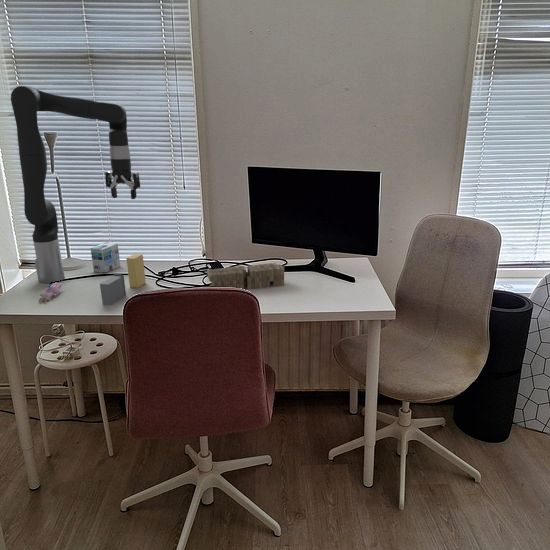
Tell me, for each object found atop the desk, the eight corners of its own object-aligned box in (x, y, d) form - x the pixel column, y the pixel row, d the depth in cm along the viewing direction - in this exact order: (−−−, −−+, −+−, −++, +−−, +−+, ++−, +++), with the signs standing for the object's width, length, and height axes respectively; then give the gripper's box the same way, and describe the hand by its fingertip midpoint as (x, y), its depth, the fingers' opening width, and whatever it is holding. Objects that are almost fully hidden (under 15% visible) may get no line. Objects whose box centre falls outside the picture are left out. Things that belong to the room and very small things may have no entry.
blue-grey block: (117, 295, 187) (114, 274, 185) (126, 295, 186) (123, 274, 184) (102, 304, 179) (99, 282, 176) (111, 305, 178) (108, 283, 175)
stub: (138, 282, 200) (134, 253, 196) (145, 282, 199) (142, 254, 195) (129, 287, 195) (126, 258, 191) (137, 287, 194) (134, 258, 190)
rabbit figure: (52, 306, 181) (69, 286, 194) (48, 293, 178) (65, 273, 192) (35, 306, 182) (53, 286, 195) (31, 292, 179) (50, 273, 192)
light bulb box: (105, 273, 212) (102, 249, 208) (93, 272, 214) (89, 248, 211) (121, 266, 221) (118, 242, 218) (108, 264, 224) (105, 241, 220)
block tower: (279, 282, 201) (207, 287, 194) (279, 262, 198) (206, 267, 191) (284, 288, 194) (210, 294, 186) (284, 268, 191) (209, 273, 184)
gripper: (98, 157, 193) (103, 199, 198) (131, 158, 189) (134, 200, 194) (110, 155, 199) (114, 195, 205) (141, 157, 196) (144, 197, 201)
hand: (124, 198), depth 199 cm, fingers open, 8 cm apart
